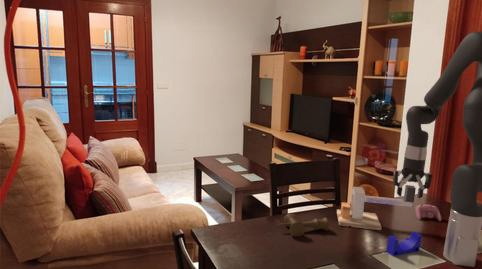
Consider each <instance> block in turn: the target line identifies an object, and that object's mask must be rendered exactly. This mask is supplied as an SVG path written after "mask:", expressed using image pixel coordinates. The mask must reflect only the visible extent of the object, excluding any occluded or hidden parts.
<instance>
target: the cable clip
mask: <svg viewBox="0 0 482 269" xmlns="http://www.w3.org/2000/svg"><path fill="white" fill-rule="evenodd" d="M387 238H388V239H387V243H386V244H387V245H386V252H385V253H387V254H389V255H390V256H392V257H396V256H401V255H402V256H403V255H405V254H410V253H417V252H420V249H421V245H422V244H421V243H422V235H421V234H419V233H418V232H416V231H412V232H411V234H410V237H406V238H404V239H403V240H402V241H401V242H399V239H398V238H397V237H395V236H393V235H389V236H387Z"/></svg>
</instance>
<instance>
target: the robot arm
mask: <svg viewBox="0 0 482 269" xmlns="http://www.w3.org/2000/svg"><path fill="white" fill-rule="evenodd" d="M476 62H477V72H476V78H475V82H474V83H473V85H472V86H471V89H470V90H469V92H468V94H467V96H466V98H465V99H464V102H463V108H462V126H463V129H464V131H465V134H466V135H467V138H468V140H469V142H470V144H471V148H472V162H471V164H461V165H458V166H457V167H456V168H455V170H454V172H453V174H452V179H451V185H450V187H451V188H450V198H449V199H450V205H451V206H450V211H449V212H450V214H449V217H448V224H447V228H446V235H445V240H444V248H443V253H442V254H443V257H444V258H445V259H446V260H447V261H449V262H451V263H452V264H453V265H455V266H462V267H463V266H464V267H471V268H474V267H475V265H476V260H477V256H478V249H479V246H480V236H481V232H482V203H480V202H478V194H479V193H482V31H480V30H479V31H477V30H476V31H472V32H470V33H469V34H467V35H466V36H465V37H464V38H463V39H462V41H461V42H460V43H459V45H458V46H457V48H456V50H455V52H454V53H453V55H452V57H451V58H450V60H449V62H448V64H447V65H446V67H445V69H444V71H443V72H442V74H441V75H440V76H439V78H438V79H437V80H436V82H435V83H434V85H433V86H431V88H430V89H429V90H428V91H427V92H426V93H425V95H424V97H423V101H424V104H425V105H413V106H410V107H409V108H408V110H407V111H406V115H405V120H406V127H407V133H408V134H407V140H406V141H407V142H406V147H405V150H404V159H403V165H402V169H401V170H397V169H394V170H393V175H392V176H393V178H392V182H393V185H394V186H396V188H397V189H396V194H397V196H398V197H402V193H403V187H404V186H405V185H407V183H408V182H409V183H411V182H413V183H417V184H418V187H417V188H418V189H417V196H416V197H417V198H418V199H419V200H421V198H423V197H424V191H425V190H426V189H427V190H429V189H430V188H431V183H432V179H433V174H432V173H431V172H425V167H426V160H427V154H428V149H427V148H428V142H429V141H428V140H429V133H428V131H427V130H426V131H425V130H422V125H430V124H432V123H433V122H435V121H436V120H437V118H438V117H439V115H440V113H441V111H442V109H443V107H444V105H445V104H446V103H448V101H449V100H450V99H451V98H452V97H453V95H454V94H455V92H456V91H457V89H458V86H459V82H460V78H461V76H462V74H463V72H465V70H466V69H467V68H468V67H470V66H471V65H472V64H473V63H476ZM400 175H402V177H401V178H400V180H399V177H400ZM424 177H425V180H424V181H425V182H424V184H423V181H422V178H424Z"/></svg>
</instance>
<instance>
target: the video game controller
mask: <svg viewBox="0 0 482 269" xmlns="http://www.w3.org/2000/svg"><path fill="white" fill-rule="evenodd" d="M414 210H415V214H416V218H417V220H419V221H420V220H422V218H426V217H427V218H429V219H433V218H434V216H435V218H436V219H437V221H438V222H442V216H441V213H440V209H438V207H437V206H436V205H432V204H428V203H427V204H425V203H423V204H418V205H415V208H414ZM426 212H428V213H426Z"/></svg>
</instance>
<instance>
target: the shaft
mask: <svg viewBox="0 0 482 269" xmlns="http://www.w3.org/2000/svg"><path fill="white" fill-rule="evenodd" d="M404 187H405V188H404V193H403V199H402V198H391V197H383V196H382V197H381V196H374V195H373V196H371V195H365V201H364V203H374V204H382V205H389V206H390V205H391V206H392V205H393V206H402V207H410V208H413V205H414V203H415V197H416V196H415V195H416V187H415V186H414V185H409V184H405V185H404Z"/></svg>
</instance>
